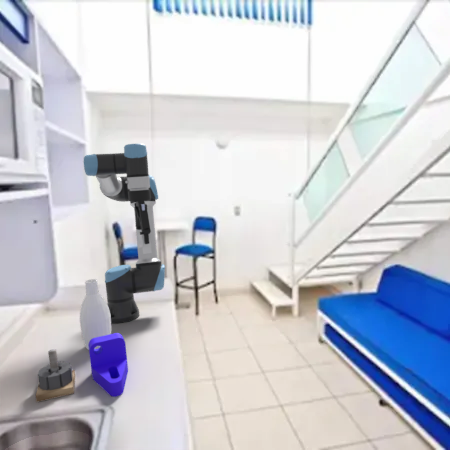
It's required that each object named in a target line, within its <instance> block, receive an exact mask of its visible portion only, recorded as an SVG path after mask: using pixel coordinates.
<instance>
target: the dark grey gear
mask: <svg viewBox="0 0 450 450" xmlns="http://www.w3.org/2000/svg"><path fill="white" fill-rule="evenodd" d="M58 367H59V371H57V372H53V373H51V369H50V364H47V365H45V366H43V367H42V368H40V369H39V370H38V373H37V380H38V385H39V388H40V389H44V390H53V389H58V388H61V387H64V386H65V385H67V384H68V383H70V382H71V381H72V376H73V375H72V370H73V368H72V363H71V362H67V361H58Z"/></svg>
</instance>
